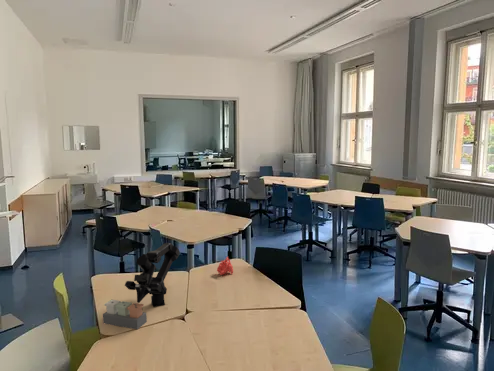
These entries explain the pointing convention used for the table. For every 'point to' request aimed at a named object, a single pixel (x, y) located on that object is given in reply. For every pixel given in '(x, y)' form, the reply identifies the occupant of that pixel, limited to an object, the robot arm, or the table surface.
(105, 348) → the table surface
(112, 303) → the key one dot
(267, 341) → the table surface
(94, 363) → the table surface
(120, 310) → the key two dots
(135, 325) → the key console
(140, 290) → the robot arm
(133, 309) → the key three dots
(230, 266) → the anatomical heart
